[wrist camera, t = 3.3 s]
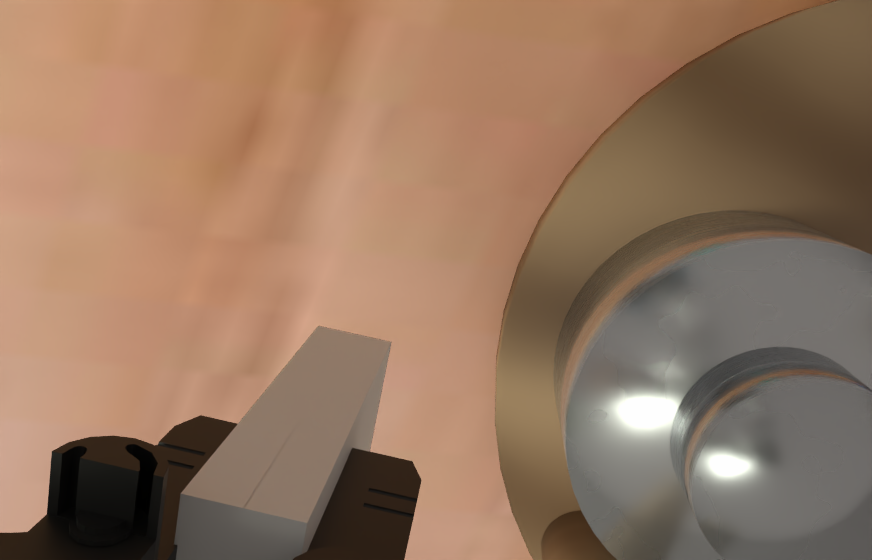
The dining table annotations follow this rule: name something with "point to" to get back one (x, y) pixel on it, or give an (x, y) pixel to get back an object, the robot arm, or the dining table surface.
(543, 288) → the turntable
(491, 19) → the dining table surface
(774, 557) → the cover
